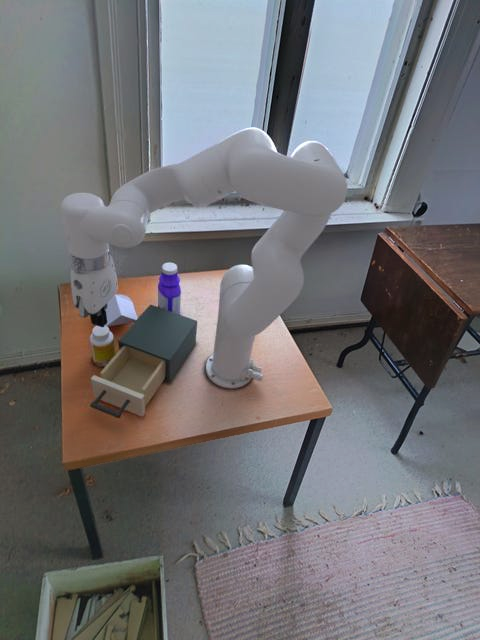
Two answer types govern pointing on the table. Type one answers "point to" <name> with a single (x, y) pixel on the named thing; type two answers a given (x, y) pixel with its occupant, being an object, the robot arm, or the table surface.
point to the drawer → (128, 381)
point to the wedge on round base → (120, 311)
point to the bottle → (169, 289)
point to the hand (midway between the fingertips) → (99, 323)
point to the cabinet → (162, 337)
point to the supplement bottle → (102, 345)
